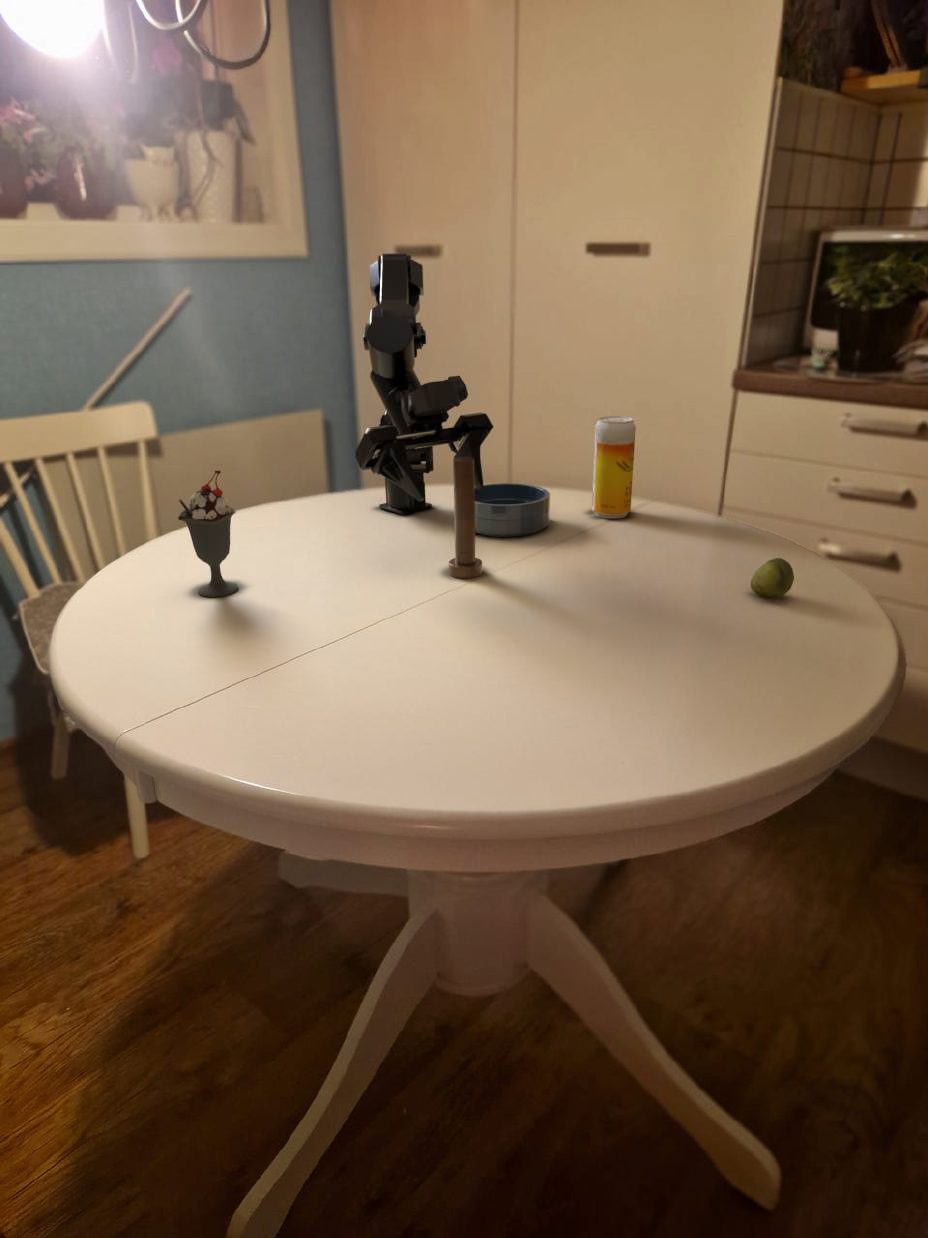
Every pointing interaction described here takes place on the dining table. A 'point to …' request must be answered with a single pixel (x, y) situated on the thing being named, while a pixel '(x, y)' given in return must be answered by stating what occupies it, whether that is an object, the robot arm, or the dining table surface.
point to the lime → (773, 578)
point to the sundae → (210, 534)
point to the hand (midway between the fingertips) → (452, 493)
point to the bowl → (511, 509)
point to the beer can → (613, 466)
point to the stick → (464, 521)
